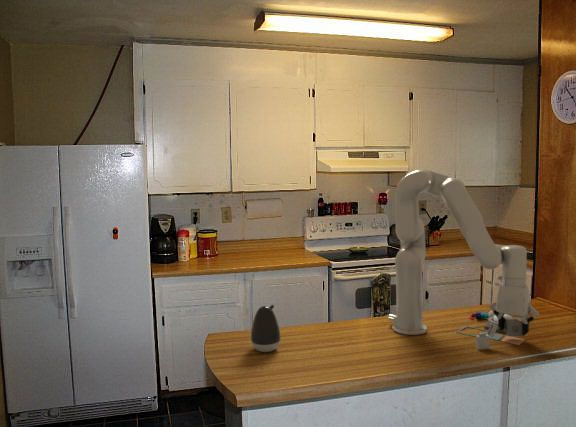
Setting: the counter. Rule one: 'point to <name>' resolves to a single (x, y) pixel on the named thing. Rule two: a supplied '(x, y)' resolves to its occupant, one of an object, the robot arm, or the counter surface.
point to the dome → (503, 316)
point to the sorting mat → (498, 337)
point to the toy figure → (482, 315)
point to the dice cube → (513, 326)
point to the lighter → (485, 338)
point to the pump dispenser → (265, 330)
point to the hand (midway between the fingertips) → (513, 331)
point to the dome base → (491, 321)
